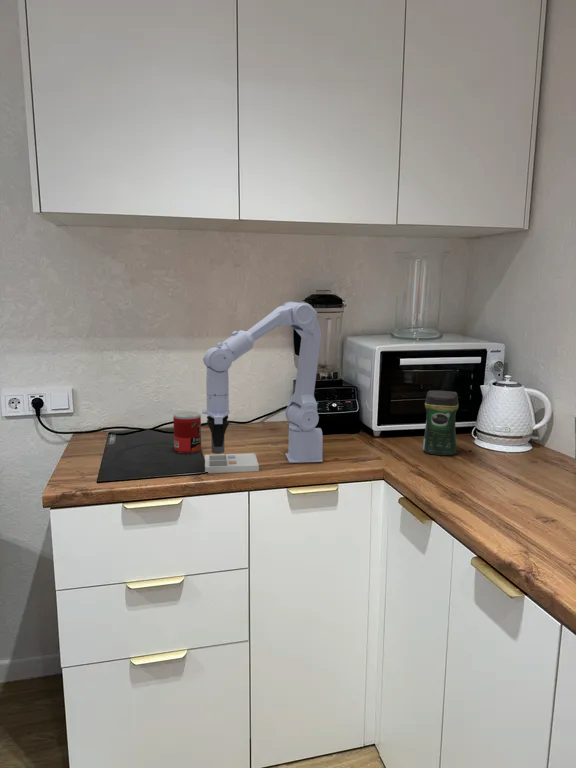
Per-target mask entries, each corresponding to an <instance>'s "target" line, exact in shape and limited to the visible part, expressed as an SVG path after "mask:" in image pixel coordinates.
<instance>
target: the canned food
mask: <svg viewBox="0 0 576 768" xmlns="http://www.w3.org/2000/svg"><path fill="white" fill-rule="evenodd" d="M201 416H202V415H201V413H200V412H197V411H179V412H178V411H177V412H175V413H174V414H173V448H174V451H175V452H176V451H178V452H182V453H191V452H197V451H199V452H200V451H201V449H202V422H201V421H202V419H201V418H202V417H201ZM182 453H181V454H182ZM197 453H198V452H197Z"/></svg>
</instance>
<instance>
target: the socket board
mask: <svg viewBox="0 0 576 768" xmlns="http://www.w3.org/2000/svg"><path fill="white" fill-rule="evenodd" d="M259 471H260V465H259V462H258V459H257V455H256V453H255V452H254V453H226V454H225V453H221V454H205V455H204V473H205V472H208V473H207V474H217V473H222V474H223V473H242V472H243V473H247V472H249V473H250V472H251V473H252V472H259Z"/></svg>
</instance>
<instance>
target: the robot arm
mask: <svg viewBox="0 0 576 768" xmlns="http://www.w3.org/2000/svg"><path fill="white" fill-rule="evenodd" d="M317 317H318V311H316V309H315V308H314V307H313V306H312V305H311V304H309V303H308V302H295V301H287V302H284V303H283V305H280V306H278V307H276V308H275V309H274V310H272V311H271V312H270V313H269V314H267V315H266V316H265V317H263V318H262V319H261V320H260V321H258V322H257V323H255V324H254V325H253V326H251V327H250V328H249V329H248V330H247V331H245V330H242V329H240V330H238V331H237V330H234V331H233V332H231V335H230V337H228V338H226V339H225V340H223V342H221V341H220V342H217V344H216V345H217V347H215V346H214V347H210V348H209V349H207V350H206V352H205V354H204V357H203V358H202V362H203V364H204V366H206V377H205V378H206V383H205V384H206V385H205V386H206V387H205V388H206V409H202V414H203V415H207V416H206V419H207V420H206V424H207V426H208V427H209V429H210V434H211V433H212V439H213V444H214V447H222V446H223V441H224V442H225V435H226V432H227V428H228V426H229V424H230V420H228V419H229V414H230V409H229V406H230V404H229V403H230V402H229V395H230V394H229V383H230V382H229V370H230V368H231V367H232V364H233V362H235V361H236V360H238V359H239V358H240V357H242V356H243V355H245V354H247V353H248V352H249V351H250V350H253V348H254V345H255V342H256V341H257V340H259V339H260V338H262V337H264V336H265V335H267V334H268V333H270V332H272V331H273V330H275V329H276V328H277V327H282V326H283V327H285V326H286V327H287V326H288V327H289V326H290V327H291V328H292V329H294V331H296V333H297V334H298V335H299V336H300V338H301V339H300V347H299V354H298V363H297V369H296V370H297V371H296V372H297V373H296V379H295V380H296V381H295V385H294V386H295V387H294V393H293V394H292V396H290V400H289V402H288V403H289V404H288V405H287V407H286V409H285V418H286V420H287V421H288V422H289V423H288V452H285V454H284V455H285V458H287V461H288V463H289V464H294V463H295V464H296V463H297V464H298V463H299V464H300V463H323V446H324V445H323V442H324V440H323V439H324V437H323V430H322V428H321V427H317V425H318V423H319V419H320V416H319V413H318V402H317V401H316V398H315V389H316V388H315V387H316V382H317V381H316V380H317V373H318V367H319V365H318V363H319V356H320V350H321V349H320V348H321V341H322V330H321V327H320V323H319V320H318V318H317Z"/></svg>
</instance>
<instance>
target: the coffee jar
mask: <svg viewBox="0 0 576 768" xmlns="http://www.w3.org/2000/svg"><path fill="white" fill-rule="evenodd" d="M458 396H459V395H458V393H457V391H448V390H429V391H427V393H426V396H425V397H426V398H425V402H424V407H425V410H426V411H425V412H426V420H425V428H424V436H423V444H422V451H423V452H425V453H426V454H431V455H436V454H437V456H452V455H454V454H456V451H457V434H456V433H457V432H456V430H457V429H456V413H457V411H458V409H459V397H458Z"/></svg>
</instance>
